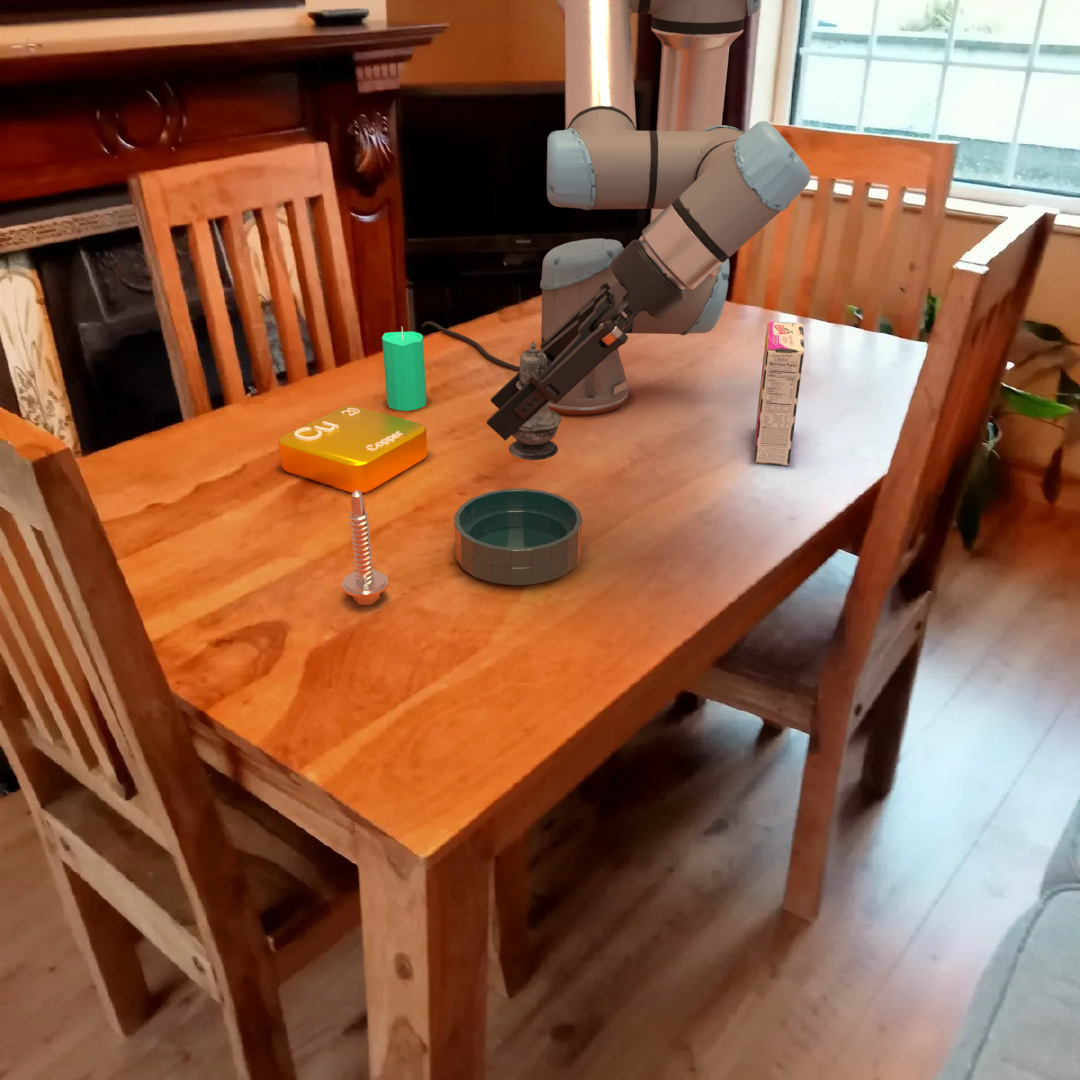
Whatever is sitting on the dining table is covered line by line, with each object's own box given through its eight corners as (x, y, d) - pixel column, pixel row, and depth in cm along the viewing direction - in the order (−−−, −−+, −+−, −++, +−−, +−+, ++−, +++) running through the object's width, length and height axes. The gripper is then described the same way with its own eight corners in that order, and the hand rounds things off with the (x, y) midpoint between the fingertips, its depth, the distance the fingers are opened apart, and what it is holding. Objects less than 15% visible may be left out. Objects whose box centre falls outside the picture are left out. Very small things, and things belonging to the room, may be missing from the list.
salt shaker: (521, 465, 105) (520, 355, 99) (496, 444, 109) (494, 337, 103) (570, 454, 107) (572, 345, 101) (544, 434, 112) (545, 329, 106)
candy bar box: (753, 431, 146) (767, 320, 137) (789, 434, 145) (804, 322, 137) (751, 464, 136) (766, 347, 128) (789, 467, 135) (806, 350, 127)
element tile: (361, 497, 127) (358, 463, 125) (275, 469, 134) (270, 436, 132) (434, 454, 138) (432, 422, 136) (350, 430, 145) (347, 399, 143)
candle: (379, 407, 153) (373, 330, 147) (399, 393, 158) (393, 318, 152) (415, 413, 151) (410, 335, 145) (433, 398, 156) (429, 323, 150)
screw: (377, 581, 110) (397, 602, 107) (336, 594, 108) (354, 616, 105) (368, 475, 104) (388, 493, 100) (324, 486, 102) (343, 505, 98)
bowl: (430, 566, 113) (428, 527, 111) (501, 514, 124) (500, 478, 121) (538, 603, 107) (538, 563, 104) (602, 546, 117) (604, 508, 115)
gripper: (699, 321, 92) (519, 481, 100) (680, 267, 107) (526, 409, 116) (643, 262, 89) (464, 431, 98) (632, 215, 105) (478, 364, 113)
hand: (498, 418), depth 107 cm, fingers closed on salt shaker, 5 cm apart
